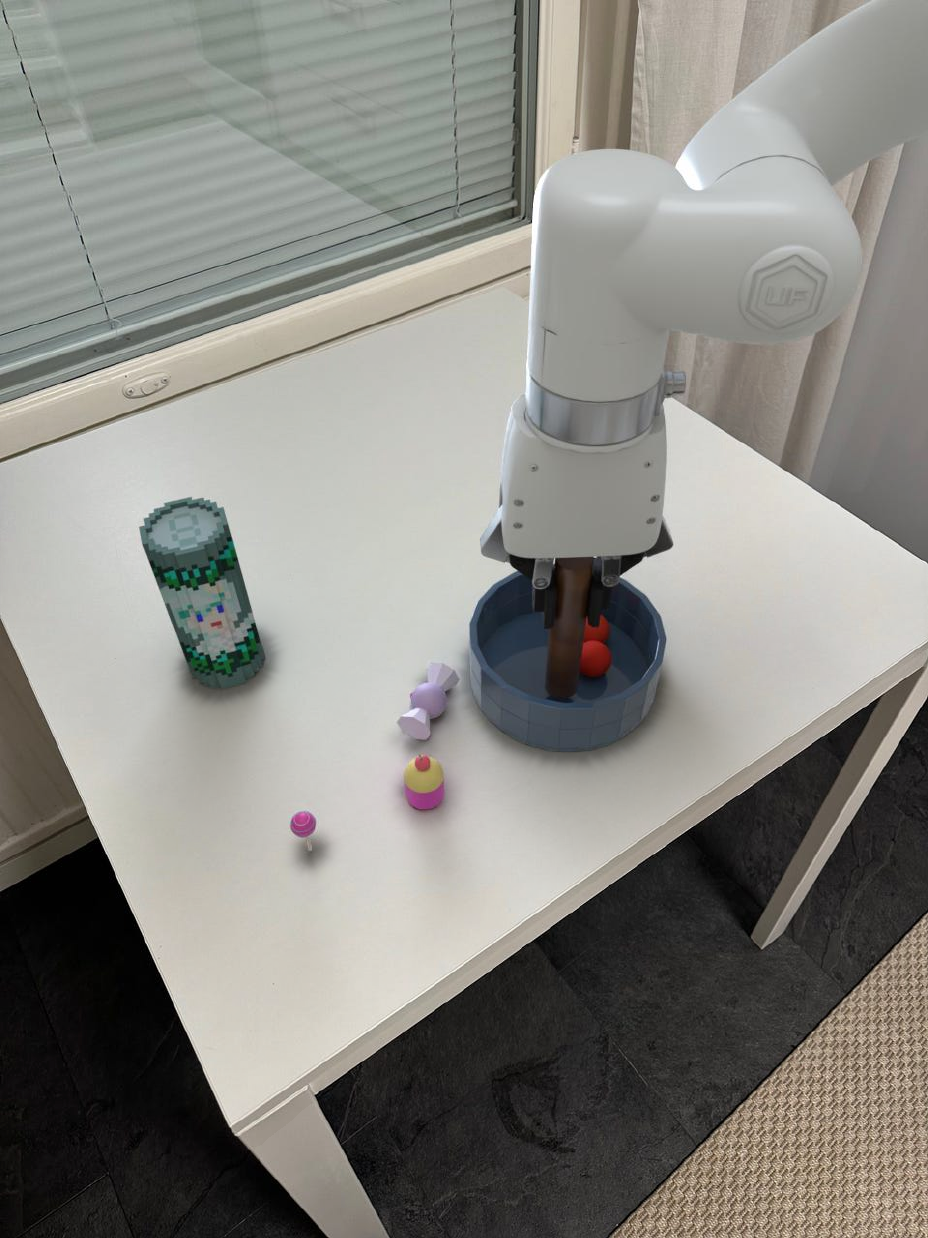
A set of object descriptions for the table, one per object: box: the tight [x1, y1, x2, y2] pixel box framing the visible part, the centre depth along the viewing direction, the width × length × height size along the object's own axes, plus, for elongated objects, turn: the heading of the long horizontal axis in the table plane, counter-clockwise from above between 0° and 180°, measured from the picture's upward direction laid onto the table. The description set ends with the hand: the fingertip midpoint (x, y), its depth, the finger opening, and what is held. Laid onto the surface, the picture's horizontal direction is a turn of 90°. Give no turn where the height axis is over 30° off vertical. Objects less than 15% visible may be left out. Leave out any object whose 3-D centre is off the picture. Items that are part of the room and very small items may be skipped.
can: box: [138, 496, 266, 690], centre depth 70 cm, size 6×6×15 cm
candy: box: [289, 662, 460, 852], centre depth 65 cm, size 18×8×6 cm, turn 157°
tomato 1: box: [583, 615, 610, 644], centre depth 74 cm, size 3×3×3 cm
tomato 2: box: [580, 641, 611, 678], centre depth 72 cm, size 3×3×3 cm
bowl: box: [468, 563, 668, 753], centre depth 72 cm, size 15×15×6 cm
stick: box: [545, 557, 595, 699], centre depth 65 cm, size 3×3×14 cm
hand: (568, 612), depth 64 cm, fingers closed on stick, 2 cm apart
